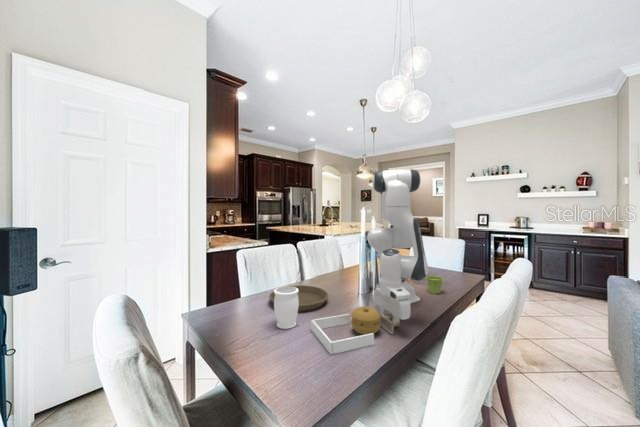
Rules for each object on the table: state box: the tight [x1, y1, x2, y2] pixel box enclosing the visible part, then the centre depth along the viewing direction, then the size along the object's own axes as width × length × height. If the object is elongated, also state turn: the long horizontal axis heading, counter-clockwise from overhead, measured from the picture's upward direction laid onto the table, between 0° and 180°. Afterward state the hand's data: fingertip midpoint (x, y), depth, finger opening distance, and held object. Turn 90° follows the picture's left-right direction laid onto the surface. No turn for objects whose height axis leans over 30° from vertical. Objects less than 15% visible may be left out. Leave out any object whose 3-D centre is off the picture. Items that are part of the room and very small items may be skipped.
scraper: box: [379, 312, 400, 335], centre depth 110 cm, size 8×12×4 cm, turn 22°
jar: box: [273, 286, 299, 330], centre depth 112 cm, size 11×10×15 cm
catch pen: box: [310, 313, 375, 355], centre depth 101 cm, size 17×20×4 cm
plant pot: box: [425, 275, 444, 295], centre depth 154 cm, size 9×9×9 cm
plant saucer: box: [268, 284, 329, 313], centre depth 139 cm, size 31×31×5 cm
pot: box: [350, 306, 382, 335], centre depth 105 cm, size 12×12×10 cm
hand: (390, 321), depth 110 cm, fingers closed on scraper, 3 cm apart
